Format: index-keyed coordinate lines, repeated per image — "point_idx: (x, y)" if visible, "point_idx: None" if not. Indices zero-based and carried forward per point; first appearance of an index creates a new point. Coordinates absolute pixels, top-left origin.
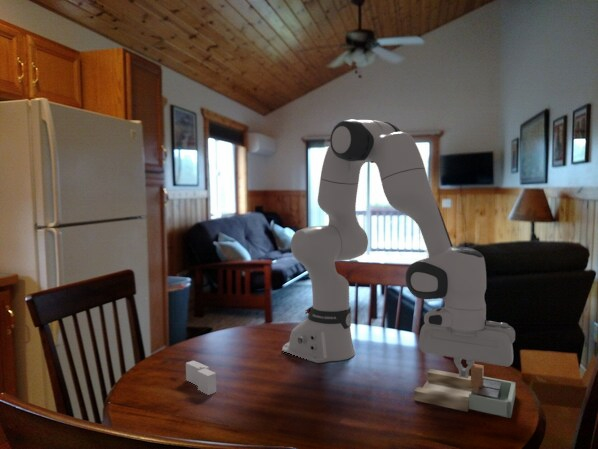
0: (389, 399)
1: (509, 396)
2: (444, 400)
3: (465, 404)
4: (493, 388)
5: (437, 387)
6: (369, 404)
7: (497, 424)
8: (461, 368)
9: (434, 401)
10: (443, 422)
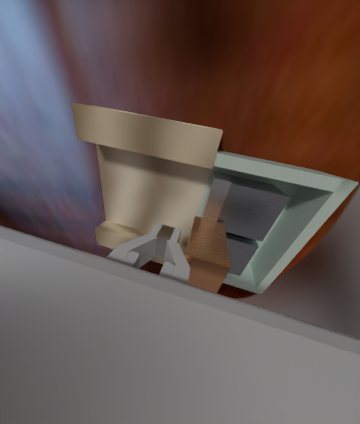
0: (80, 224)
1: (272, 271)
2: None
3: None
4: (246, 236)
5: (126, 180)
6: (69, 240)
7: None
8: (152, 254)
9: None
10: (157, 268)
